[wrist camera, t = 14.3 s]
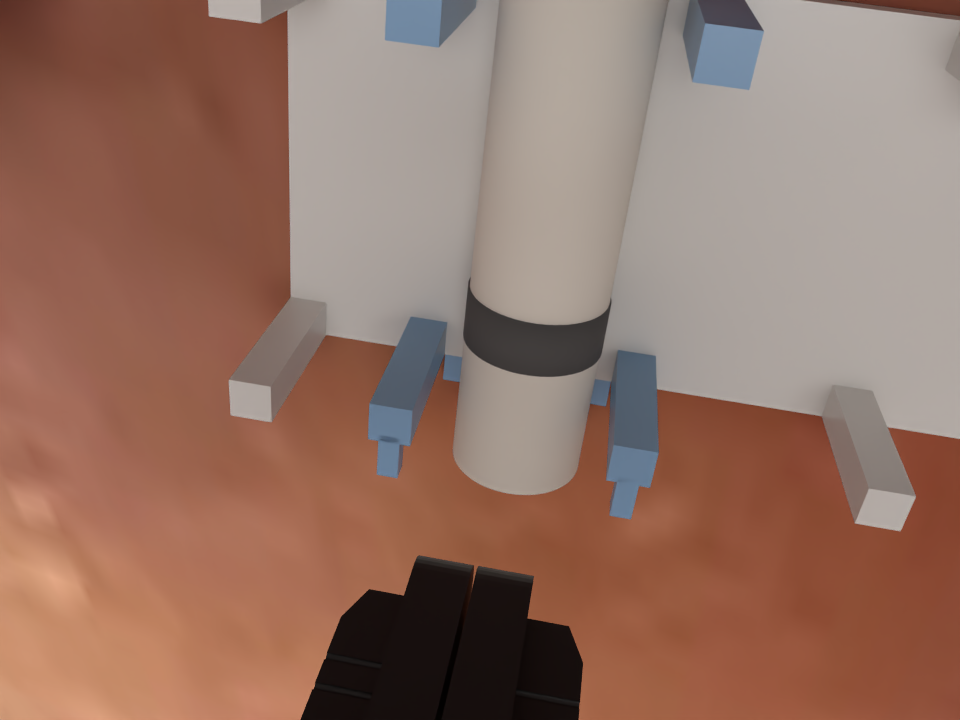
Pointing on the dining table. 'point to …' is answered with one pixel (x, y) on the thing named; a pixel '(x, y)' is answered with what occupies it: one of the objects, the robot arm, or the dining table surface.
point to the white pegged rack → (648, 221)
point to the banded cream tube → (549, 231)
